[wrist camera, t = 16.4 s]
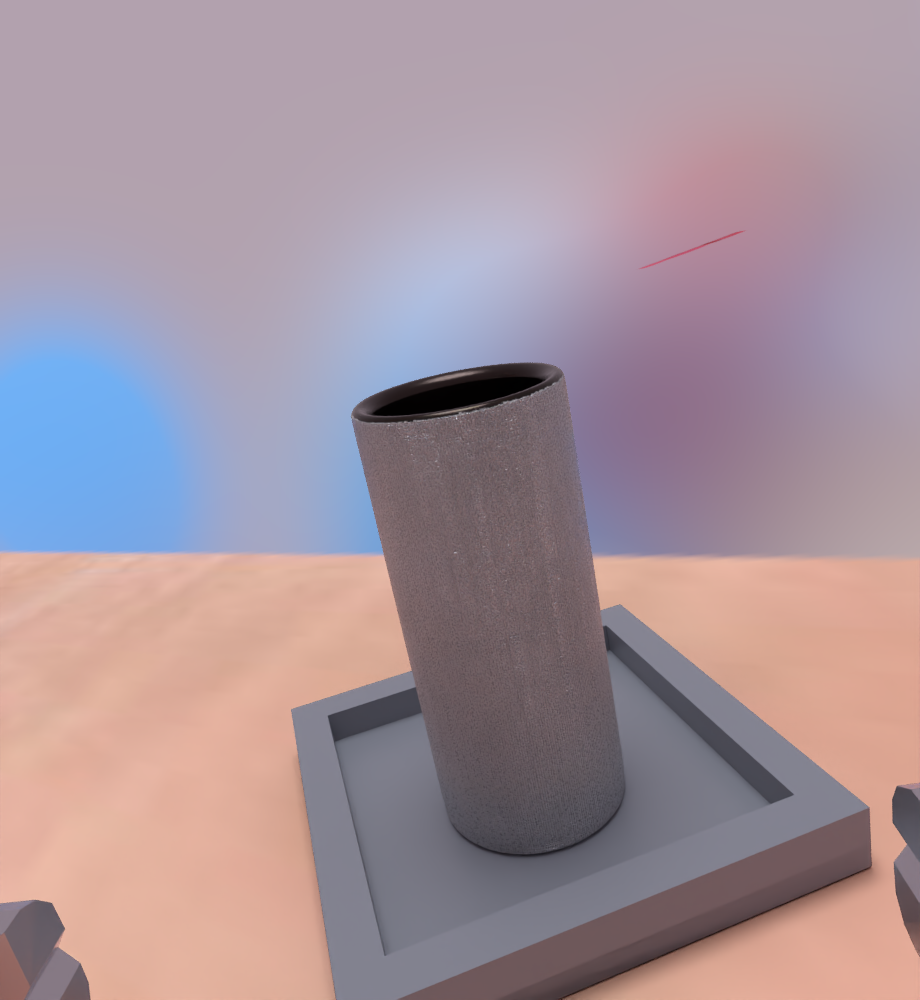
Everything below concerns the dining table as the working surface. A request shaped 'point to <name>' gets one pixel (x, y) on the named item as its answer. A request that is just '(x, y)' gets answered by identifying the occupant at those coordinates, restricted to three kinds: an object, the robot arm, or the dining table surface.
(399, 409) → the grey cylindrical container
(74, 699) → the dining table surface
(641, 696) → the tray
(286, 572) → the dining table surface
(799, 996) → the dining table surface
